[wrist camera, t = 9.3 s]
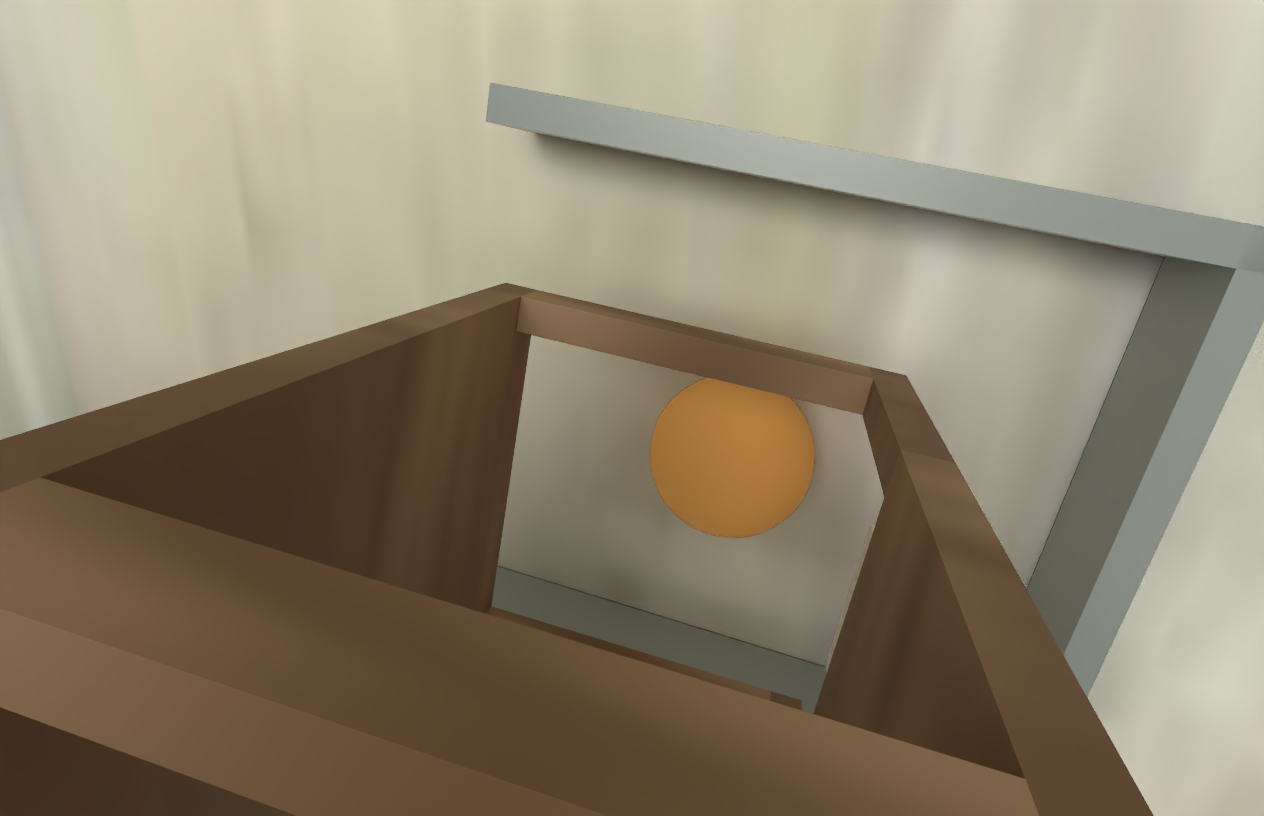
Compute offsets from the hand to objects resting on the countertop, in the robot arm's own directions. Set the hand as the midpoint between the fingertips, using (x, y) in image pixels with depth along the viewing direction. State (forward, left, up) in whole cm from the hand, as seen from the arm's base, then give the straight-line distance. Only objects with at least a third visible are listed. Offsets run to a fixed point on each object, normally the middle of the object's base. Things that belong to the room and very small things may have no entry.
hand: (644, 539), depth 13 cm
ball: (+1, 0, -6) cm, 6 cm away
